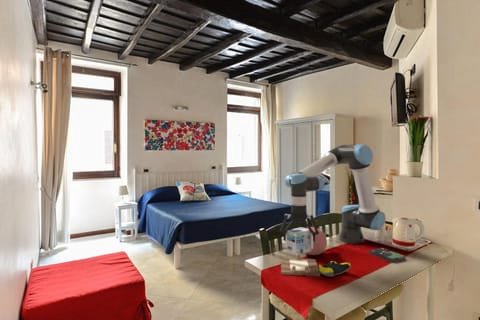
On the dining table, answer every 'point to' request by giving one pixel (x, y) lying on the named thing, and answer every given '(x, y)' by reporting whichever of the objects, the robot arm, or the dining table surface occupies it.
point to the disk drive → (387, 255)
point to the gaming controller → (334, 268)
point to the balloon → (318, 243)
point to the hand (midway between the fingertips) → (299, 247)
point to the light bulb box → (298, 240)
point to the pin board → (299, 266)
